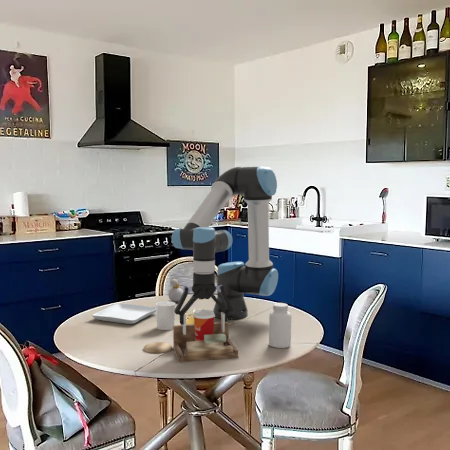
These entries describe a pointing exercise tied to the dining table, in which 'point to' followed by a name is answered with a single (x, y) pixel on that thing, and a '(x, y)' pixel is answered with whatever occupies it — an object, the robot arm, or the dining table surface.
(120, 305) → the salad plate
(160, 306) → the white cup
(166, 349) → the mat
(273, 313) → the pill bottle
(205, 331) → the paper cup
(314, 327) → the dining table surface
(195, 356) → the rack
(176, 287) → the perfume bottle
